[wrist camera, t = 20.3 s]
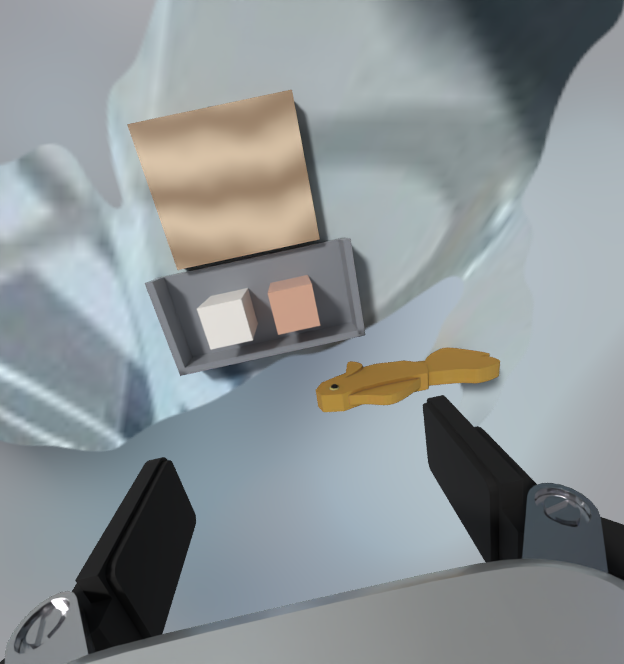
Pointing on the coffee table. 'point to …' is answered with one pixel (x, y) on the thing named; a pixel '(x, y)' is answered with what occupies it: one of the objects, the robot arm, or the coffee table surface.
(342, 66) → the coffee table surface
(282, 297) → the terracotta block
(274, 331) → the box
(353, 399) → the decorative fish
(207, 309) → the cream block
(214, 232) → the board
